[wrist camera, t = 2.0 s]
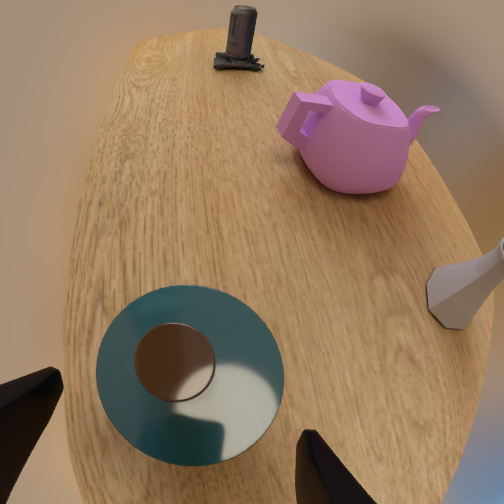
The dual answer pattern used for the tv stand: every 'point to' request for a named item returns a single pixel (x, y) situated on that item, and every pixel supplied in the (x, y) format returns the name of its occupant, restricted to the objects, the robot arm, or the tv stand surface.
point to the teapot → (351, 135)
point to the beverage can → (239, 41)
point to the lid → (190, 375)
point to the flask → (464, 287)
